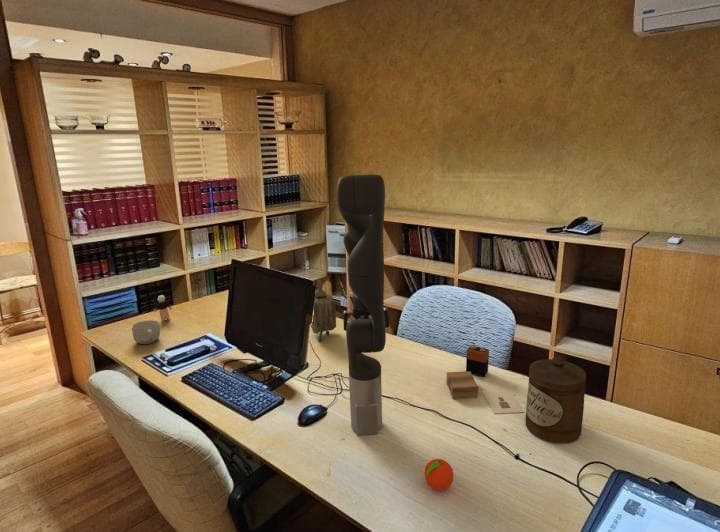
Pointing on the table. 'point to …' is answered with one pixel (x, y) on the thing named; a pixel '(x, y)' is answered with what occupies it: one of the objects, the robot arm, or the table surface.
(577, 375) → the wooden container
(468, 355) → the battery
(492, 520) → the table surface
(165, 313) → the grandmother figurine
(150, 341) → the teacup
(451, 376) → the base brick
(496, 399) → the page
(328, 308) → the grey brown tall figure
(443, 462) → the red tomato
